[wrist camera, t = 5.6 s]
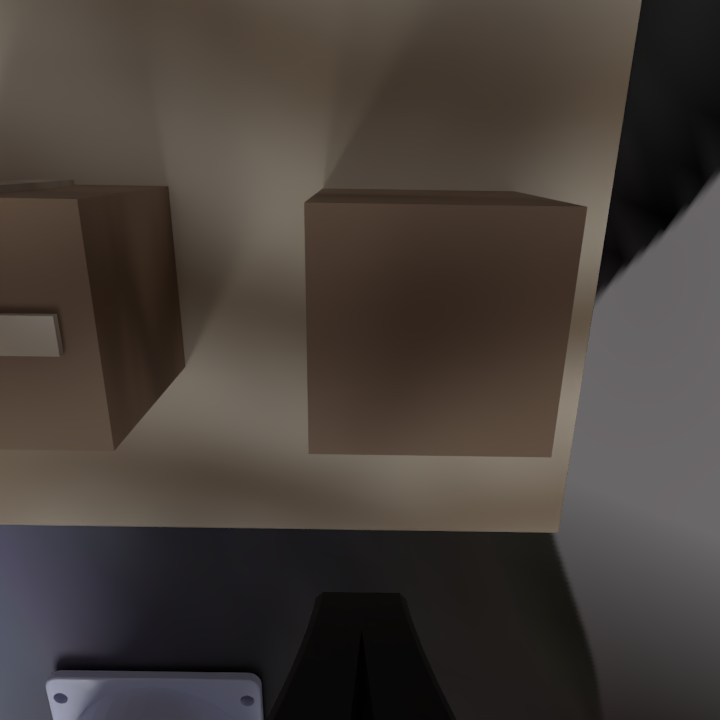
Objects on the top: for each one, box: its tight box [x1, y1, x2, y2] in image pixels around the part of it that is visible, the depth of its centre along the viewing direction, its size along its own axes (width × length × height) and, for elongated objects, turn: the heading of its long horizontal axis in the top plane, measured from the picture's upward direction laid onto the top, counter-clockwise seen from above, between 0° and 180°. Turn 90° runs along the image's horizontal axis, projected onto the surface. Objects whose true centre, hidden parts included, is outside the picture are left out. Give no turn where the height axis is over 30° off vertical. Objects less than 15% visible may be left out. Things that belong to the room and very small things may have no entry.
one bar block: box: [0, 179, 185, 451], centre depth 13 cm, size 5×5×5 cm
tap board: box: [0, 0, 642, 532], centre depth 16 cm, size 16×28×1 cm, turn 89°
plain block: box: [304, 188, 587, 457], centre depth 13 cm, size 5×5×5 cm
